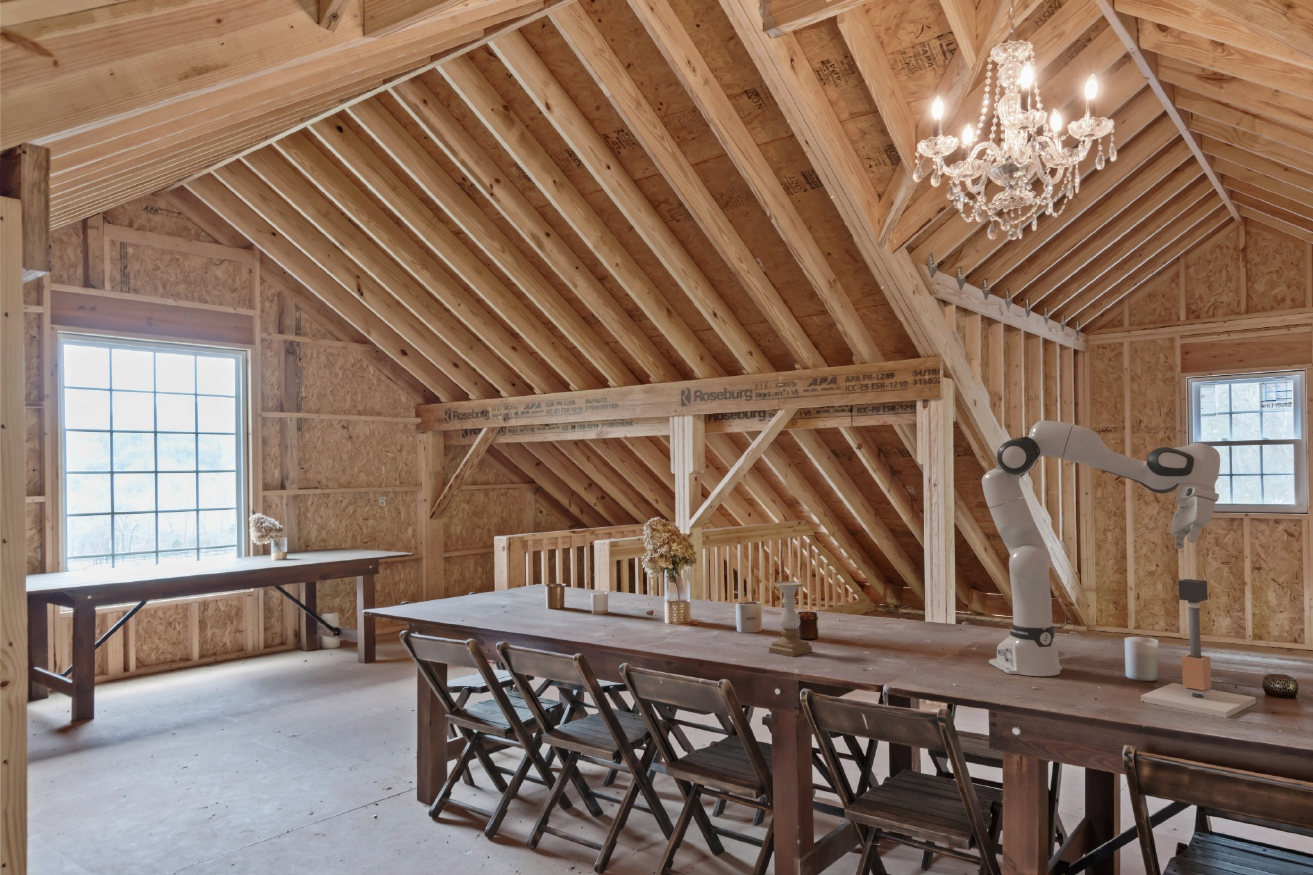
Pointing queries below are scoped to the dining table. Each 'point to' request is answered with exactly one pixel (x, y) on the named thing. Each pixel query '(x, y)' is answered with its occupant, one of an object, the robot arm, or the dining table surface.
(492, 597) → the dining table surface
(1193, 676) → the sleeve
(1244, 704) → the post
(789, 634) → the candle holder
